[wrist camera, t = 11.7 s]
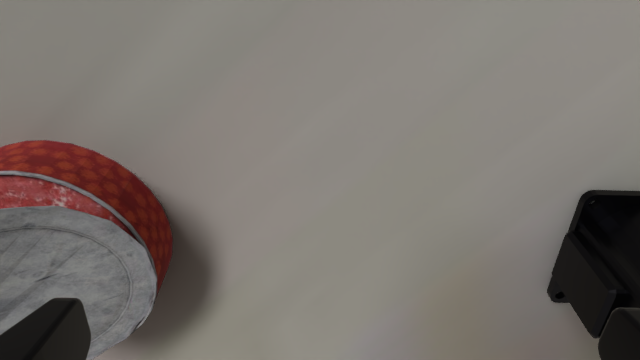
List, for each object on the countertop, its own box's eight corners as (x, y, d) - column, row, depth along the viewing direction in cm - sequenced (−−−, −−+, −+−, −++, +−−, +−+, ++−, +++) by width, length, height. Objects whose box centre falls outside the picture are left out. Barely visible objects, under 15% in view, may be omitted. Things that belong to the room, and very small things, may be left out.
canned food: (96, 95, 25) (91, 107, 16) (196, 251, 28) (238, 332, 19) (-139, 213, 22) (-307, 309, 13) (5, 369, 26) (-49, 527, 17)
